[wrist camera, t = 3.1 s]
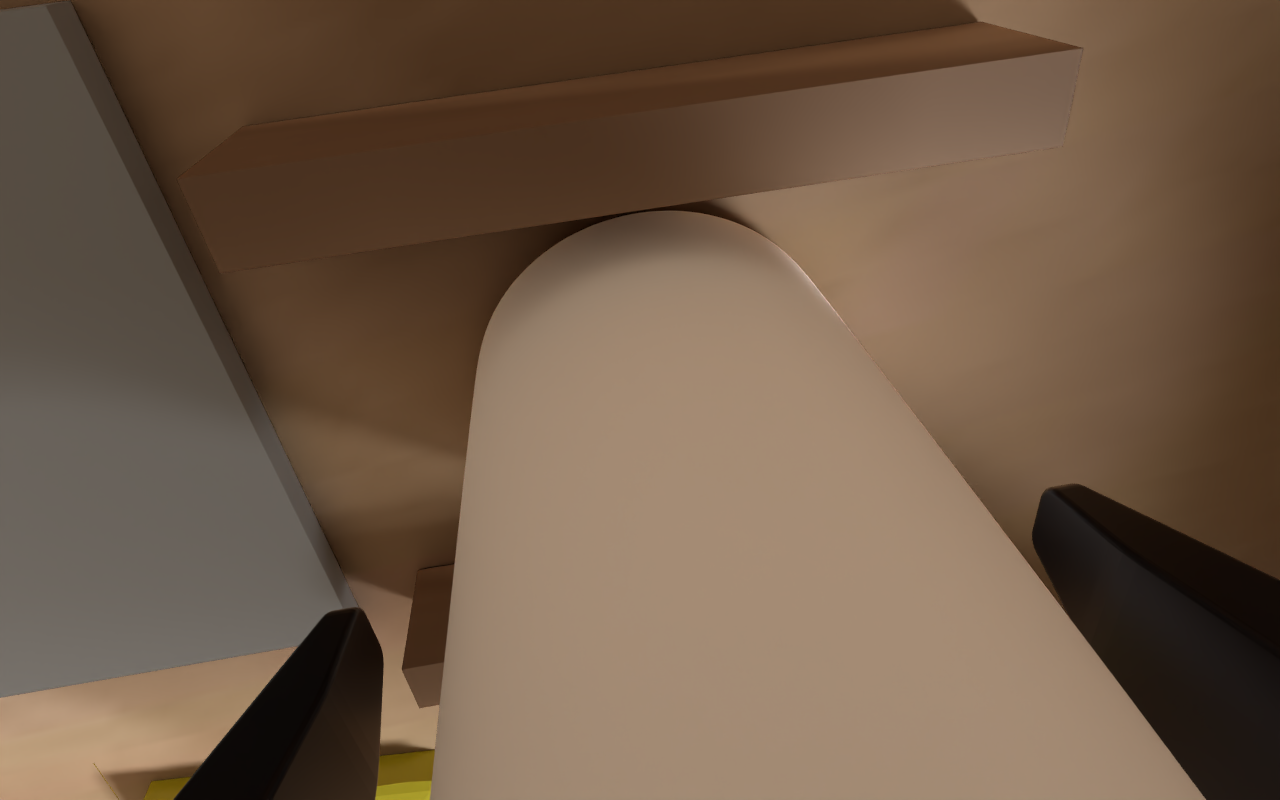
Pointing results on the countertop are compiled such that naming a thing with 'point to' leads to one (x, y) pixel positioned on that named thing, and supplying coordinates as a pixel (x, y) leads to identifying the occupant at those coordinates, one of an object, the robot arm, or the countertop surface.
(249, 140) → the holder
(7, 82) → the mat
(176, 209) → the countertop surface
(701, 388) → the can
